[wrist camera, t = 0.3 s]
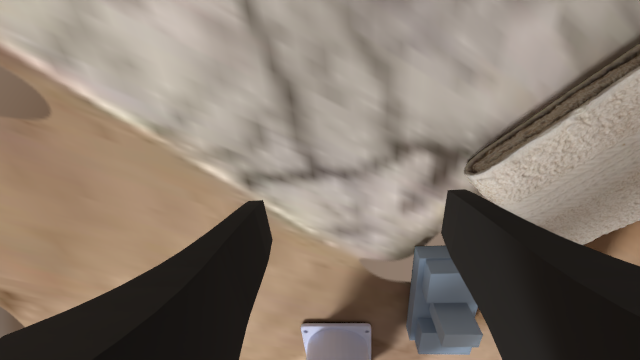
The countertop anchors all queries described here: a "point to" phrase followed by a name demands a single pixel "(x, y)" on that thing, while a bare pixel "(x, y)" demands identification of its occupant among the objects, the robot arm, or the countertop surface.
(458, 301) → the display stand
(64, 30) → the countertop surface
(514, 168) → the washcloth
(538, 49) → the countertop surface
